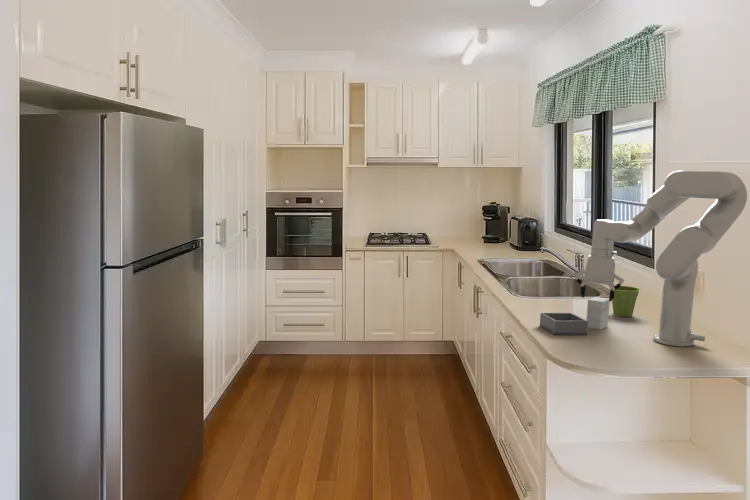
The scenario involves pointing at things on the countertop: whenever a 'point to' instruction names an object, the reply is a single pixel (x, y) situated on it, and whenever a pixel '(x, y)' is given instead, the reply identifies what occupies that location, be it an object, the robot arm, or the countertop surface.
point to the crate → (563, 323)
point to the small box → (598, 313)
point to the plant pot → (624, 300)
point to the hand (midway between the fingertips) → (596, 298)
